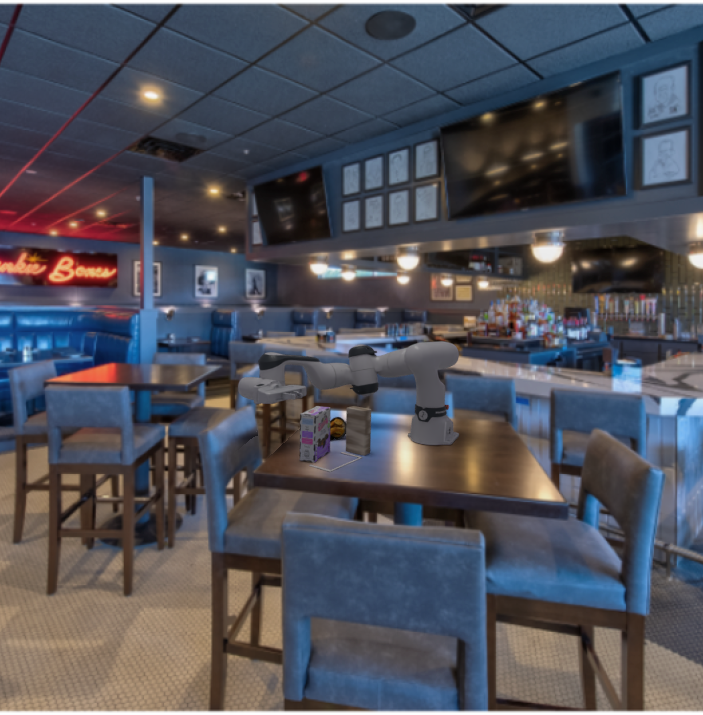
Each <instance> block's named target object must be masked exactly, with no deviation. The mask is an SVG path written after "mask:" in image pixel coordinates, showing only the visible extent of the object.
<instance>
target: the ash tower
mask: <svg viewBox="0 0 703 715" xmlns="http://www.w3.org/2000/svg"><path fill="white" fill-rule="evenodd" d="M345 415H346V418H345V419H346V420H345V422H346V435H345V452H346V453H350V454H354V455H358V456H359V455H360V456H362V457H363V456H364V457H365V456H367V455H369V454H371V442H372V441H371V439H372V427H371V426H372V409H371V408H366V407H361V406H360V407H359V406H356V405H353V406H349V407H346V414H345Z"/></svg>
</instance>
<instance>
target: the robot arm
mask: <svg viewBox="0 0 703 715" xmlns="http://www.w3.org/2000/svg"><path fill="white" fill-rule="evenodd" d="M377 353H378V351H377V350H375V349H374V348H373V347H372V346H370V345H367V344H361V343H360V344H355V345H354V346H352V347H351V348H349V349H348V359H349V360H348V361H349V364H347V363H345V362H328V363H324V362H321V361H320V358H317V357H314V356H308V355H301V354H300V355H298V354H284V353H279V352H273V351H272V352H271V351H268V352H264V353H263V354H262V355H261V356H260V357H259V359H258V362H257V363H258V369H259V376H260V377H258V376H257V377H254V376H245V377H242V378H240V380H239V382H238V384H237V386H238V390H237V391H238V393H239V395H240V396H241V397H242V398H244V399H246V400H251V401H253V403H254V404H256V405H261V404H264V405H266V404H270V405H274V404H277V403H279V402H283V401H288V400H297V399H302V398H303V397H306V396H307V386H305V385H300V384H290V385H289V384H288V385H286V378H285V377H286V376H285V374H286V373H285V367H286V366H287V365H288V366H301V367H303V369H304V371H305V374H306V376H307V378H308V380H309V382H310V384H311V385H312V386H313V387H314V388H316V389H318V390H321V391H322V390H323V391H325V390H333V389H337V388H340V387H344V386H347V385H351V386H352V387H349V389H350V390H352V391H353V392H354V393H355V394H356V395H358V396H363V397H370V396H372V395H374V394H375V393H377V392H378V391H379V384H380V383H379V381H378V378H379V377H382V378H387V379H388V378H390V379H391V378H400V377H405V376H411V375H413V377H414V380H415V385H416V387H415V389H416V390H415V392H416V393H415V394H416V395H415V396H416V397H415V399H416V400H415V404H414V415H413V416H412V417H411V423H410V424H411V425H410V432H409V433H408V434H407V437H408V438H410V441H412V442H414V443H417V444H422V445H426V446H440V445H442V446H445V445H446V446H447V445H448V446H451V445H452V444H453V443H454V442H455V441H456V440H457V439H458V438H459V437H460V434H459V432H456V431H454V421H453V420H452V419H451V418H450V417H449V416H448V415H447V414H448V412H447V411H449V408H450V405H449V404H446V385H445V383H443V382H442V381H441V380H440V378H439V372H438V371H440V370H446V369H449V368H450V367H453V366H455V365H456V364H457V363H458V361H459V358H460V352H459V350H458V347H457V346H456V345H455V344H453V343H451V342H448V341H443V340H441V341H426V342H425V341H423V342H417V343H413V344H411V345H409V346H407V347H405V348H401V349H397V350H393V351H389V352H387V353H385V354H381V355H377ZM378 376H379V377H378Z"/></svg>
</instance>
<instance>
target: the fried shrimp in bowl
mask: <svg viewBox="0 0 703 715" xmlns="http://www.w3.org/2000/svg"><path fill="white" fill-rule="evenodd" d="M344 437H346V420H344V419H343V418H342V417H341V416H335V417H333V418H331V419H330V442H332V441H334V440H335V439H336V440H337V441H338V440H340V439H342V438H344Z"/></svg>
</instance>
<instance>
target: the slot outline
mask: <svg viewBox="0 0 703 715" xmlns="http://www.w3.org/2000/svg"><path fill="white" fill-rule="evenodd" d="M340 453H341V454H343V455H347V456H349V457H355V458H356V459H354V460H351V461H348V462H345V463H344V464H341V465H340V466H337V467H334V468H333V469H329V468H325V467H321V466H317V465H313V464H308V466H309V467H312V468H315V469H318V470H322V471H325V472H329V473H331V472H333V471H335V470H338V469H340V468H342V467H345V466H347V465H349V464H352V463H354V462H356V461H359V460H361V459H363V458H364V457H363V456H361V455H360V456H359V455H357V454H353V453H349V452H343V451H342V452H340Z"/></svg>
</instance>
